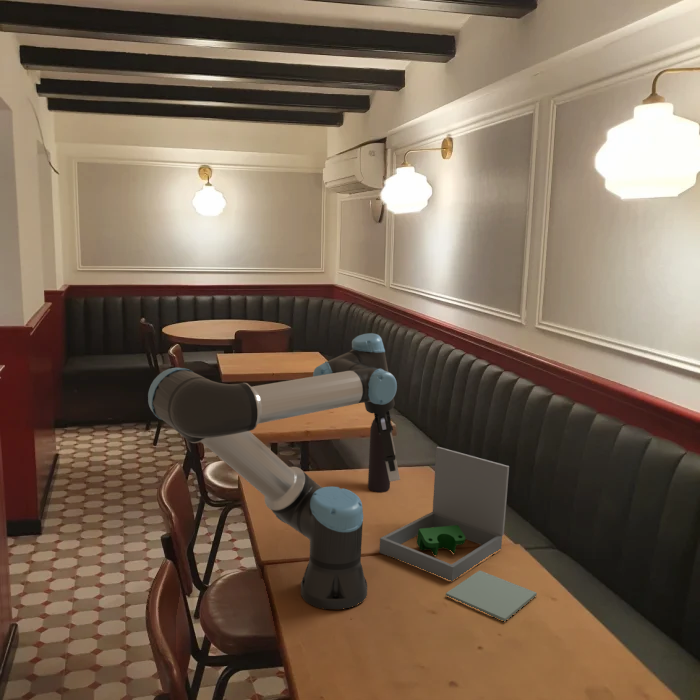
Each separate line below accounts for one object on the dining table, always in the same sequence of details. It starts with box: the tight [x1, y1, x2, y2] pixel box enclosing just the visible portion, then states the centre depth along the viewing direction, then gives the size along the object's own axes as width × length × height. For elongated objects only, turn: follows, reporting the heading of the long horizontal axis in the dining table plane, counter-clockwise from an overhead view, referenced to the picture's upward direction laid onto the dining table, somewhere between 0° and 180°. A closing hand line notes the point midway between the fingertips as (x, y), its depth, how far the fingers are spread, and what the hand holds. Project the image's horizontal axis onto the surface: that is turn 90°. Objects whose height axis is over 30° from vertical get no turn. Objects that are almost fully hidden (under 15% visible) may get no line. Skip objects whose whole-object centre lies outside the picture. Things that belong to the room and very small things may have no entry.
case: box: [378, 446, 510, 581], centre depth 178 cm, size 25×22×23 cm
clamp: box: [416, 525, 466, 556], centre depth 179 cm, size 12×6×9 cm, turn 100°
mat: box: [445, 570, 537, 621], centre depth 158 cm, size 15×15×1 cm
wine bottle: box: [367, 417, 393, 493], centre depth 219 cm, size 7×7×30 cm
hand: (392, 466), depth 180 cm, fingers open, 13 cm apart
